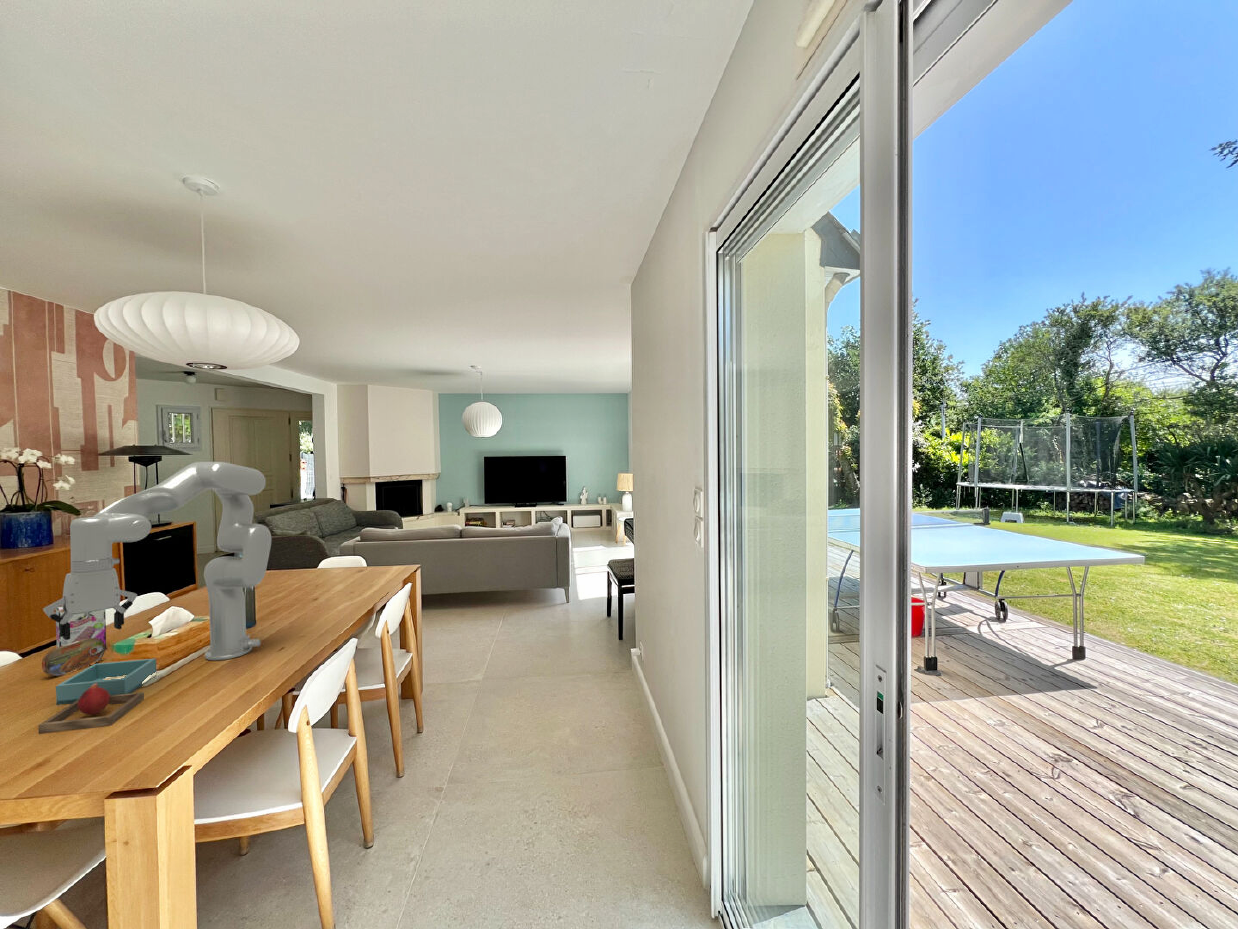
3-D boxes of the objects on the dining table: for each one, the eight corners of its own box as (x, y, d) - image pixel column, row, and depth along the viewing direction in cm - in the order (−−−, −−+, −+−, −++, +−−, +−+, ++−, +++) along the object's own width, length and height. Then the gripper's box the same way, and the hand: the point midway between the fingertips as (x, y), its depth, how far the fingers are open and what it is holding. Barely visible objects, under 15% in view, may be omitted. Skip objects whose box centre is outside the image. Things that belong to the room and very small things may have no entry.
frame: (144, 699, 146) (143, 692, 146) (110, 725, 132) (109, 717, 132) (80, 706, 142) (79, 698, 142) (38, 733, 129) (38, 725, 128)
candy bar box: (60, 662, 172) (57, 610, 171) (56, 658, 174) (54, 607, 174) (107, 651, 181) (105, 601, 180) (103, 647, 184) (101, 599, 183)
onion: (82, 723, 133) (81, 691, 133) (75, 717, 136) (73, 686, 136) (114, 713, 138) (112, 682, 138) (106, 707, 141) (104, 677, 141)
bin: (156, 675, 161) (156, 658, 161) (125, 697, 147) (124, 679, 146) (95, 681, 157) (94, 664, 157) (56, 705, 143) (55, 686, 143)
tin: (48, 681, 158) (47, 652, 158) (40, 680, 158) (38, 651, 158) (106, 660, 173) (105, 634, 172) (98, 659, 173) (97, 633, 173)
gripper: (131, 559, 147) (131, 622, 148) (39, 570, 133) (40, 640, 133) (140, 562, 143) (141, 627, 143) (47, 574, 129) (48, 646, 129)
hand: (92, 633), depth 138 cm, fingers open, 9 cm apart
